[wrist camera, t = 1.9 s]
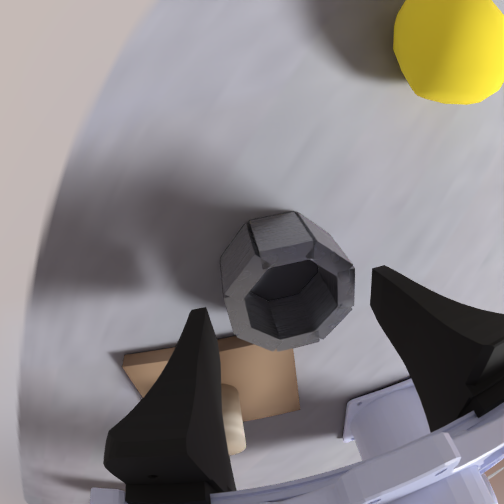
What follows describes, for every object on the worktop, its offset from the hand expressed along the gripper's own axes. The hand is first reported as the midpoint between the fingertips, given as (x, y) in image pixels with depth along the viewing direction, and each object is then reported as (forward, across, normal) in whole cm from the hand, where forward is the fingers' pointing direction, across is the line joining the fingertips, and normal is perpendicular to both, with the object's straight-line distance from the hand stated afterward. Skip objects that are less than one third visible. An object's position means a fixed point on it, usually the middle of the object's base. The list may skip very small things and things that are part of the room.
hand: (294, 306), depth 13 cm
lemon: (+4, -9, -10) cm, 14 cm away
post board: (+3, +5, +8) cm, 10 cm away
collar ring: (+3, 0, 0) cm, 3 cm away
